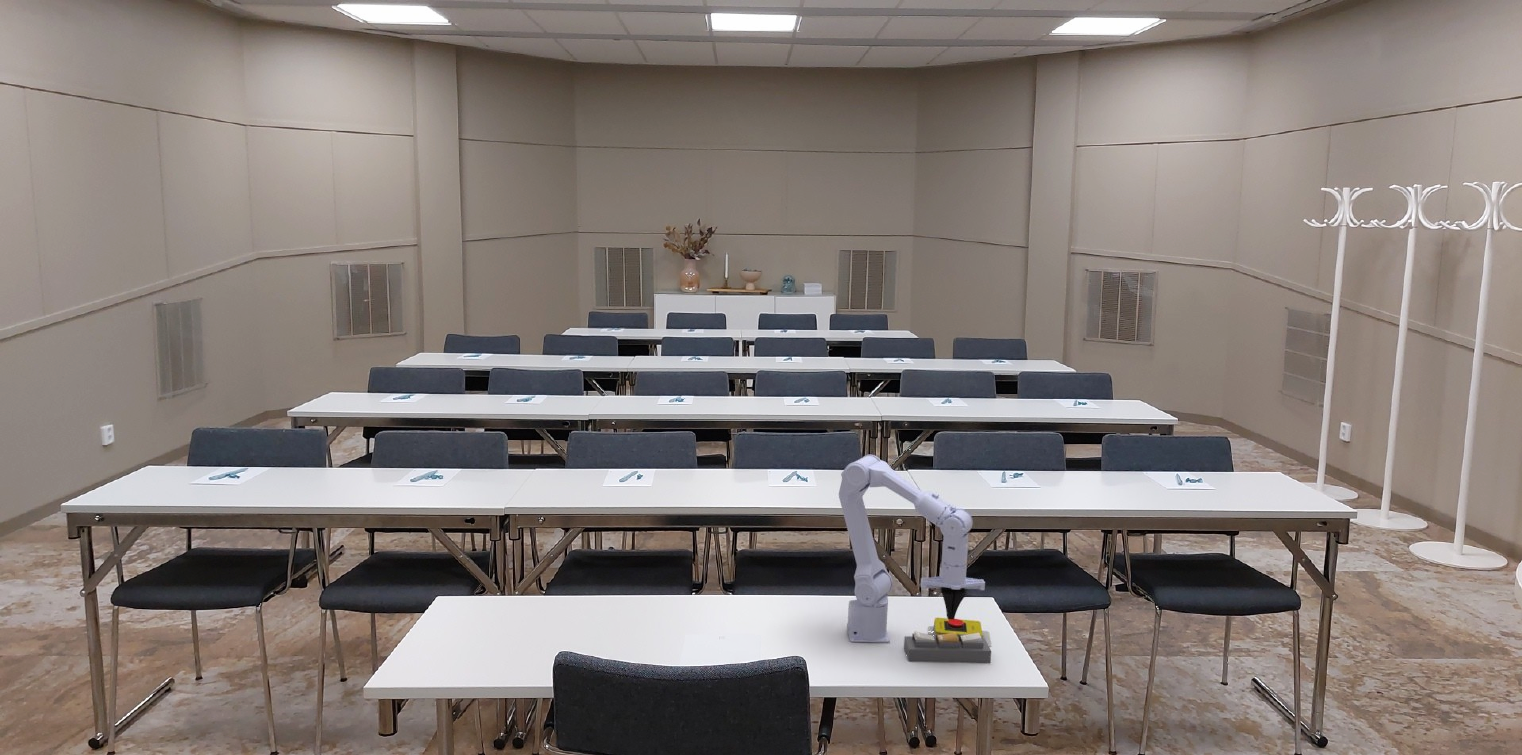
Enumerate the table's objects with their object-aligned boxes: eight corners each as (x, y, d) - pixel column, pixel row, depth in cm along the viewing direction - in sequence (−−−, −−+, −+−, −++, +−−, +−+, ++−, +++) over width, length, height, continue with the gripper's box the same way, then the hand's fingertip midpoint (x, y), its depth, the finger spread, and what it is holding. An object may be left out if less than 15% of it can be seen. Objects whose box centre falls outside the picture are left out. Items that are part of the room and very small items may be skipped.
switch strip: (908, 661, 246) (909, 644, 245) (903, 648, 253) (904, 631, 252) (990, 663, 246) (991, 645, 246) (983, 649, 253) (984, 632, 252)
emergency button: (928, 611, 265) (990, 617, 263) (927, 628, 266) (988, 633, 264) (929, 627, 256) (992, 632, 254) (928, 644, 257) (991, 649, 255)
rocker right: (963, 645, 248) (962, 640, 248) (960, 639, 250) (960, 635, 250) (982, 641, 248) (981, 637, 247) (979, 636, 250) (978, 632, 250)
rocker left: (915, 640, 247) (916, 636, 247) (913, 635, 250) (914, 631, 250) (933, 644, 248) (935, 640, 247) (931, 639, 250) (932, 635, 250)
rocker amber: (939, 644, 248) (939, 640, 247) (937, 639, 250) (937, 635, 250) (958, 641, 248) (957, 637, 247) (956, 636, 250) (955, 631, 250)
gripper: (925, 567, 241) (922, 624, 244) (989, 569, 242) (985, 625, 244) (920, 556, 248) (917, 611, 251) (982, 558, 248) (978, 613, 251)
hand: (950, 617), depth 248 cm, fingers closed
